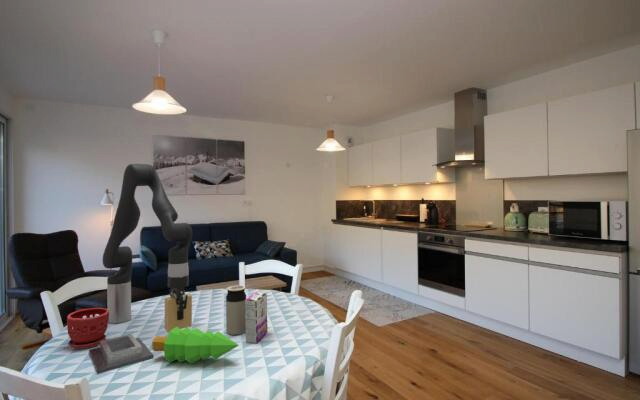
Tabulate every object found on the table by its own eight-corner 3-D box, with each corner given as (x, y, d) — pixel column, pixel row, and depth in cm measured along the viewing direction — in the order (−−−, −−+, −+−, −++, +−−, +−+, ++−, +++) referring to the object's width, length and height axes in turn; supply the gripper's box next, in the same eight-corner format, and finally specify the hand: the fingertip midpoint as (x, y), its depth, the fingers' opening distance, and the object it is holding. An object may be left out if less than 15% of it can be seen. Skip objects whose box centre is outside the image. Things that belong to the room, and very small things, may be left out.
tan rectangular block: (164, 329, 129) (164, 298, 129) (188, 323, 135) (188, 293, 135) (167, 332, 126) (167, 300, 126) (191, 326, 132) (191, 295, 132)
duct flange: (88, 352, 119) (88, 341, 119) (138, 340, 129) (138, 329, 129) (97, 373, 104) (97, 361, 104) (153, 357, 114) (153, 346, 114)
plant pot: (63, 354, 117) (63, 320, 117) (71, 341, 129) (70, 310, 129) (107, 347, 123) (107, 314, 123) (110, 334, 135) (110, 305, 135)
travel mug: (250, 329, 139) (249, 286, 139) (238, 336, 131) (237, 290, 132) (235, 326, 142) (234, 284, 142) (222, 333, 135) (221, 288, 135)
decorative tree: (160, 319, 117) (241, 319, 112) (169, 344, 121) (248, 346, 116) (140, 344, 107) (228, 346, 102) (151, 370, 111) (236, 373, 106)
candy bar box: (256, 331, 136) (255, 291, 137) (267, 332, 135) (267, 292, 136) (244, 343, 125) (244, 299, 126) (257, 344, 124) (256, 299, 125)
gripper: (162, 272, 134) (162, 315, 134) (174, 278, 123) (174, 325, 123) (181, 270, 138) (181, 311, 138) (194, 275, 128) (194, 320, 128)
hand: (178, 317), depth 131 cm, fingers closed on tan rectangular block, 4 cm apart
